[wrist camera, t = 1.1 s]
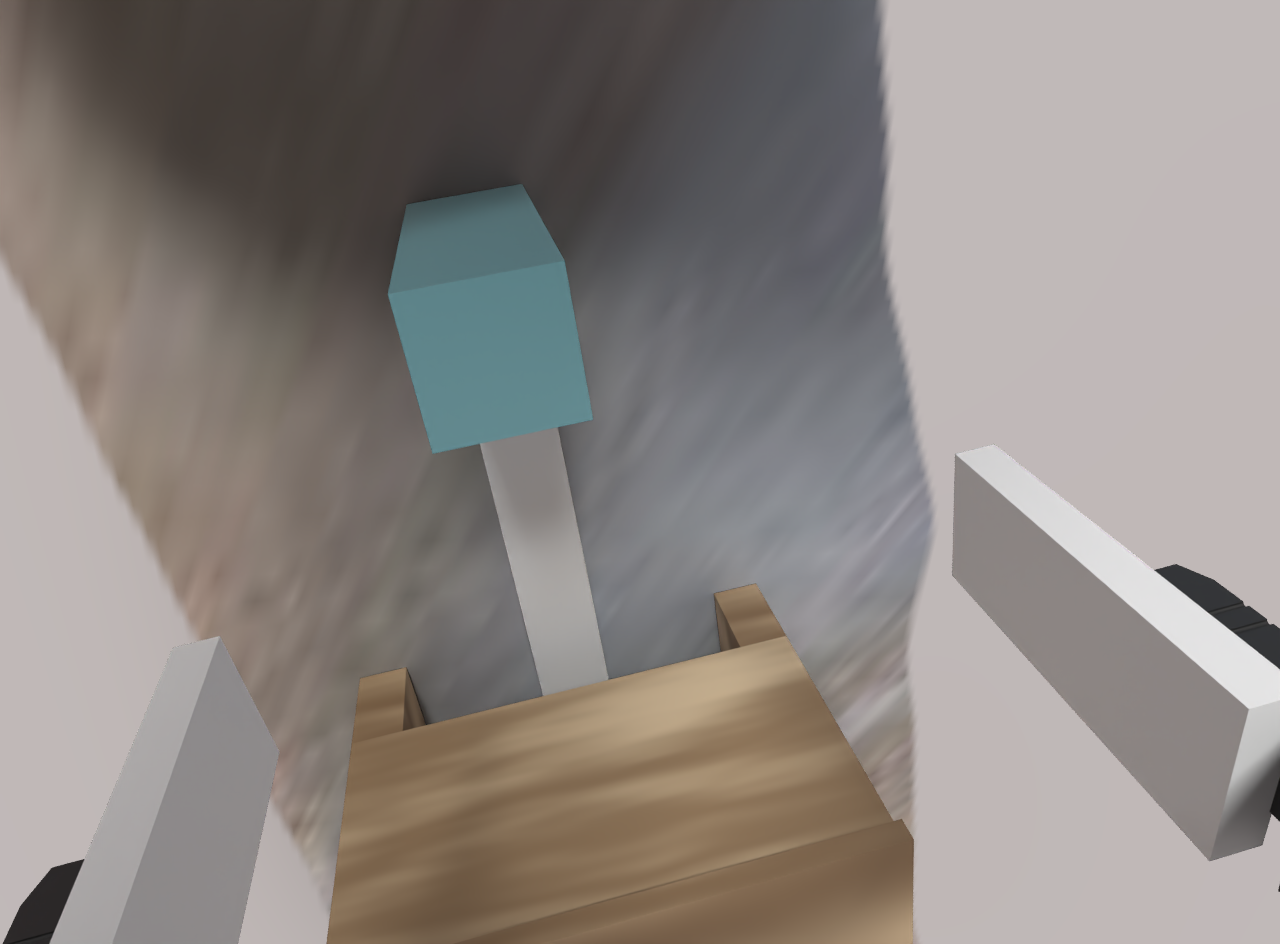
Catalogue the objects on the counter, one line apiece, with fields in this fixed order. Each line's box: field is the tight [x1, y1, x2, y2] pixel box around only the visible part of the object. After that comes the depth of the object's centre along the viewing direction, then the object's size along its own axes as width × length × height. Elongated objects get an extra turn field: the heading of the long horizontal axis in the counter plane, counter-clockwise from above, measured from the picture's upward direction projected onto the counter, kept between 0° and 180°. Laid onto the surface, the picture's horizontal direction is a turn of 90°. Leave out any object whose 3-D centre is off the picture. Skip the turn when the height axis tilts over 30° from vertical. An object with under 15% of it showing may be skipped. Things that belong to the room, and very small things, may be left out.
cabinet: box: [327, 584, 914, 944], centre depth 36 cm, size 14×18×15 cm
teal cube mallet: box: [388, 184, 609, 696], centre depth 31 cm, size 26×4×12 cm, turn 8°
